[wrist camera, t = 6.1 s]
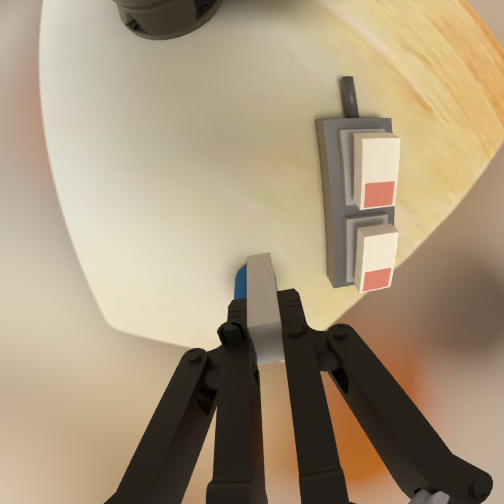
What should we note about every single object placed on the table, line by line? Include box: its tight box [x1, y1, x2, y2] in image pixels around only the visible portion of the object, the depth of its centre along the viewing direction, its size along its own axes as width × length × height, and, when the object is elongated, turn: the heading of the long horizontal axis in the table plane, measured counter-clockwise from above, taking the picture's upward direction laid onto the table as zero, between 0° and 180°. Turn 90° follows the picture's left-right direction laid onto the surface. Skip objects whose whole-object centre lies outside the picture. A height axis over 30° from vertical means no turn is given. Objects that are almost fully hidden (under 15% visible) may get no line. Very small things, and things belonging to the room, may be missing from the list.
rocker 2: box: [354, 223, 399, 293], centre depth 35 cm, size 9×5×3 cm, turn 9°
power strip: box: [315, 76, 394, 288], centre depth 36 cm, size 31×10×5 cm, turn 9°
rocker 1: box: [353, 133, 400, 210], centre depth 29 cm, size 9×5×2 cm, turn 9°
